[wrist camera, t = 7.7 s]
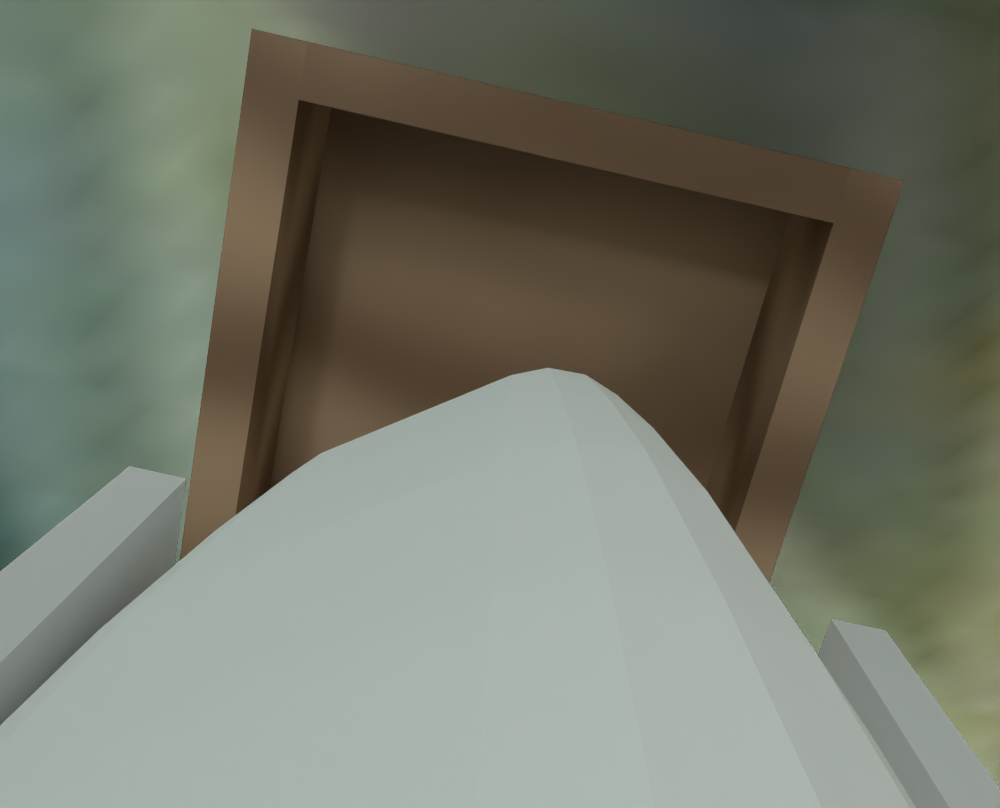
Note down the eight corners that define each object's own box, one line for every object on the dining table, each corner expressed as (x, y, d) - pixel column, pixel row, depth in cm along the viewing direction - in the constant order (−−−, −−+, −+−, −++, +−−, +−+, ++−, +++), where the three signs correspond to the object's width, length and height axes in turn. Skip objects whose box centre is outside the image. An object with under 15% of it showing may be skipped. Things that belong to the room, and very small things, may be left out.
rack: (301, 47, 24) (252, 28, 20) (838, 172, 25) (904, 180, 20) (174, 890, 32) (118, 1009, 27) (585, 974, 32) (593, 1104, 28)
